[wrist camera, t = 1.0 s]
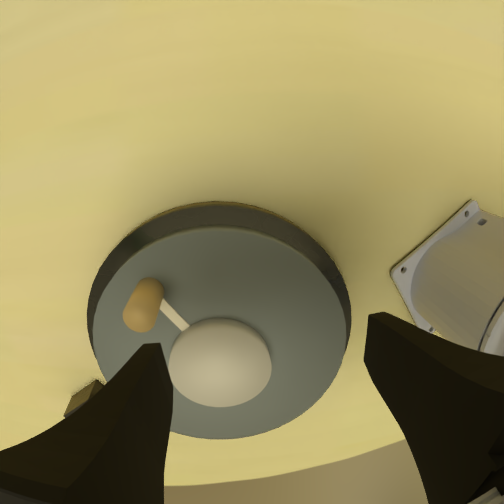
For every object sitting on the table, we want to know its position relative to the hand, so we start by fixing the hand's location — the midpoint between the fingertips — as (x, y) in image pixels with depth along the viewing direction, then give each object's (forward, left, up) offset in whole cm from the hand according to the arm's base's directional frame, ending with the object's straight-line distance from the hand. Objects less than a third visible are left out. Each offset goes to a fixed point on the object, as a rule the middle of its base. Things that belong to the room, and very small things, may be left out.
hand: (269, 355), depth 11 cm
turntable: (+5, +3, -9) cm, 11 cm away
